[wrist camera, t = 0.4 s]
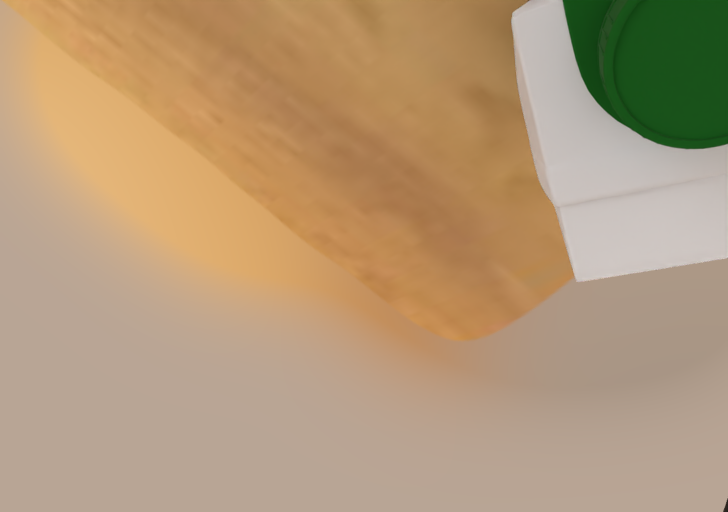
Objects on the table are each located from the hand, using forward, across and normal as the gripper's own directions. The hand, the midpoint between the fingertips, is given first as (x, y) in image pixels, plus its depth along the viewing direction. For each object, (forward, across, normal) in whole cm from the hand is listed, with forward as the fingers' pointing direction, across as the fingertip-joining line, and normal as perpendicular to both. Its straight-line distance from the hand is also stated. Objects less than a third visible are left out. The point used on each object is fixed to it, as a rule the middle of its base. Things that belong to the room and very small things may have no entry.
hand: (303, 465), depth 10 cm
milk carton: (+25, +8, +12) cm, 29 cm away
